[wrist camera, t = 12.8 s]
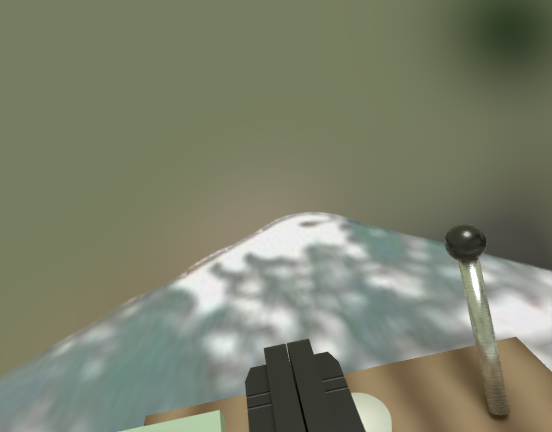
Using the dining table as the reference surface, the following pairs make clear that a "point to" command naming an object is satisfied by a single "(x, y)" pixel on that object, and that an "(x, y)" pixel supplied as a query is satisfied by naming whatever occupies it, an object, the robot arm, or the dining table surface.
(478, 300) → the steel toggle lever
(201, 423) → the sage-green paddle lever
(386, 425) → the ivory push button
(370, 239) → the dining table surface
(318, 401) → the robot arm
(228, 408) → the walnut switch board
